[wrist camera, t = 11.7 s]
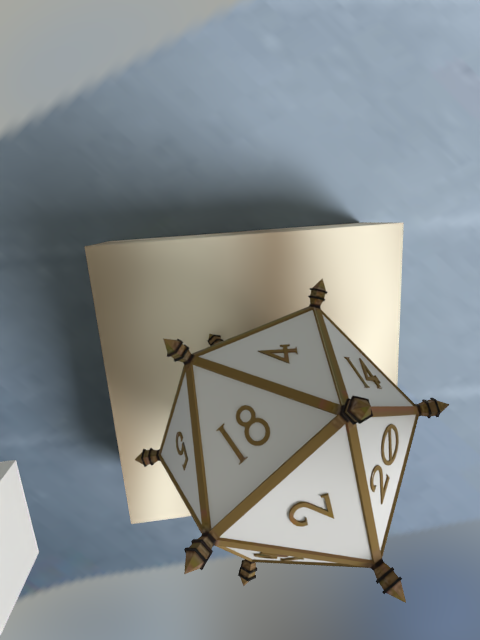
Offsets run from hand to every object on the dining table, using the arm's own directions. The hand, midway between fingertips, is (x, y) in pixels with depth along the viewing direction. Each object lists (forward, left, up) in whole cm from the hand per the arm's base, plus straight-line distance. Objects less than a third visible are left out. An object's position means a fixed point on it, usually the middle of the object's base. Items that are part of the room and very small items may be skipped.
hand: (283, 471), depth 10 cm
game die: (0, 0, -6) cm, 6 cm away
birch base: (0, 0, -10) cm, 10 cm away
